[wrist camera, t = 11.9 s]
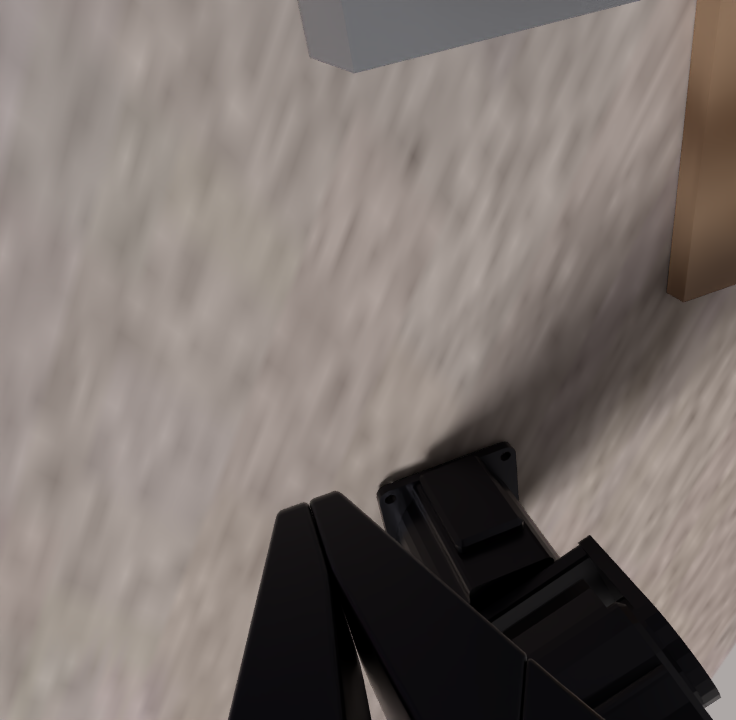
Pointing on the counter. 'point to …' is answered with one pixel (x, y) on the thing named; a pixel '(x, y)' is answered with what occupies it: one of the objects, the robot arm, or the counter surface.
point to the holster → (707, 161)
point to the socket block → (421, 26)
